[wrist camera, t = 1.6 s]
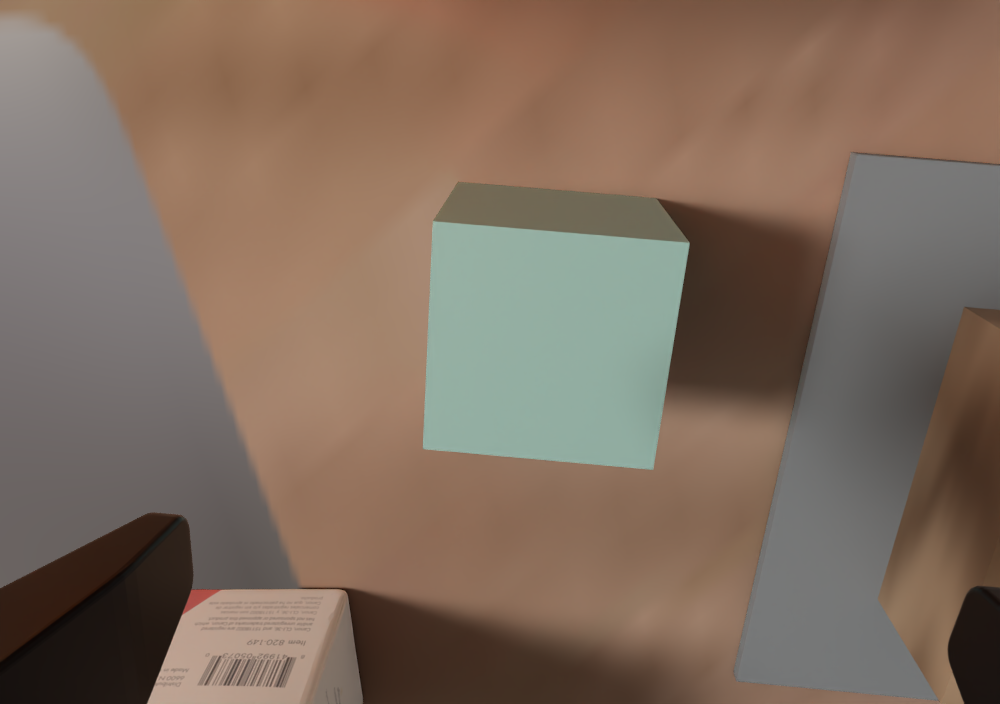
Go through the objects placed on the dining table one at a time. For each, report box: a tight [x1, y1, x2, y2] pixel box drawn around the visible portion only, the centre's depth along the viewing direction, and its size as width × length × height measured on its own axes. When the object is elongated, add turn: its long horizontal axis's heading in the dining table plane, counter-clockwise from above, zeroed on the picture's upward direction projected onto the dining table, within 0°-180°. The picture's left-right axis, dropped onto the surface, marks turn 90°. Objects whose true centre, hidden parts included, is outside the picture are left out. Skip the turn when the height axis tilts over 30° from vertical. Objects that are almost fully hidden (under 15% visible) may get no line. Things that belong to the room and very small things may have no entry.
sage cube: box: [423, 182, 690, 470], centre depth 19 cm, size 5×5×5 cm
